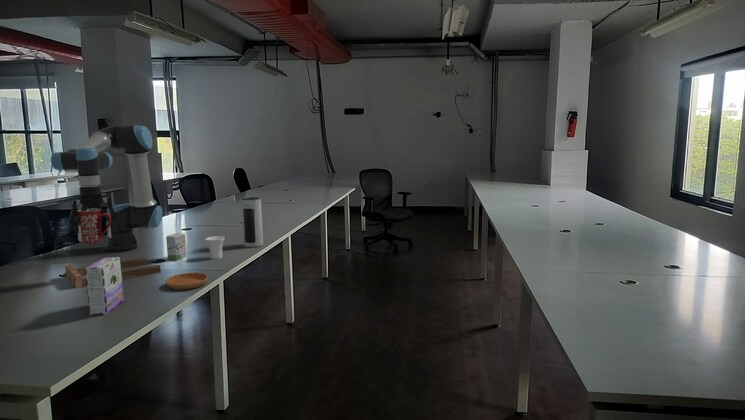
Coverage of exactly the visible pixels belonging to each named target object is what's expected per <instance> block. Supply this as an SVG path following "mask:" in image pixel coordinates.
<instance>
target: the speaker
mask: <svg viewBox="0 0 745 420" xmlns="http://www.w3.org/2000/svg"><path fill="white" fill-rule="evenodd" d="M240 202H241V218H242V238H243V246H244V247H245V248H260V247H262V246H264V233H263V232H264V231H263V214H262V198H261V197H253V196H252V197H245V198H241V201H240Z"/></svg>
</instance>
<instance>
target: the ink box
mask: <svg viewBox="0 0 745 420" xmlns="http://www.w3.org/2000/svg"><path fill="white" fill-rule="evenodd" d="M165 240H166V250H167V260H168V261H174V262H175V261H176V262H178V261H180V260H182V259H184V258H186V257H187V256H188V255H187V243H186V240H187V239H186V234H185V233H179V232H177V233H173V234H172V233H171V234H170V235H167V236H166V238H165Z"/></svg>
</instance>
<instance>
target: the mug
mask: <svg viewBox="0 0 745 420" xmlns="http://www.w3.org/2000/svg"><path fill="white" fill-rule="evenodd" d="M76 214H77V216H79V215H80V217H81V221H80V222H79V224H78V225H80V226H81V235H82V241H81V243H82V244H95V243H99V242H102V241H103V236H105V235H104V234H105V233H107V230H108V228H109V226H110V224H111V216H110V215H109V214H107V213H102V212H101V209H100V210H99V209H98V208H91V209H87V210H86V211H81V208H80V209H76ZM104 215H106V216H107V217H108V219H109V222H108V221H107V222H108V225H107V224H106V227H105V229H104V230H103V231H102V219H103V217H105V216H104Z"/></svg>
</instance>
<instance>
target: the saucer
mask: <svg viewBox="0 0 745 420" xmlns="http://www.w3.org/2000/svg"><path fill="white" fill-rule="evenodd" d="M208 280H209V276H208V274H206V273H204V272H203V273H202V272H186V273H178V274H174V275H173V276H170V277H167V278H166V280H165V285H167V286H168V287H169V288H170V289H172V290H176V291H183V290H184V291H188V290H194V289H198V288H200V287H203V286H204V285H205V283H207V281H208Z"/></svg>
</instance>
